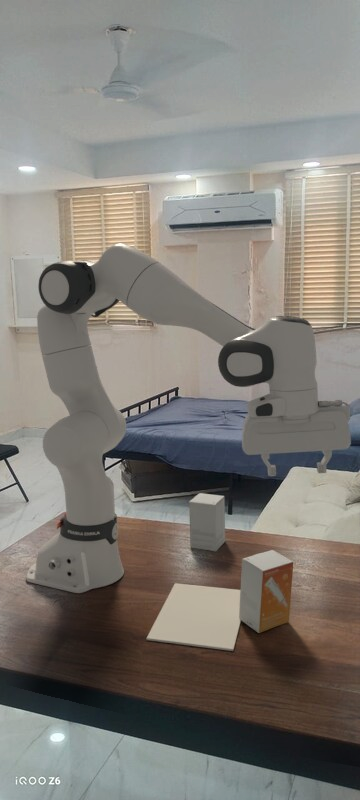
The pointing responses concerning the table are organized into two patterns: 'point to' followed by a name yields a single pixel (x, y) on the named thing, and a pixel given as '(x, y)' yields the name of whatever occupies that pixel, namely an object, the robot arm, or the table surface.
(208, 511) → the supplement box
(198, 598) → the mat
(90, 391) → the robot arm
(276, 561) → the small box
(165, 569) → the table surface
